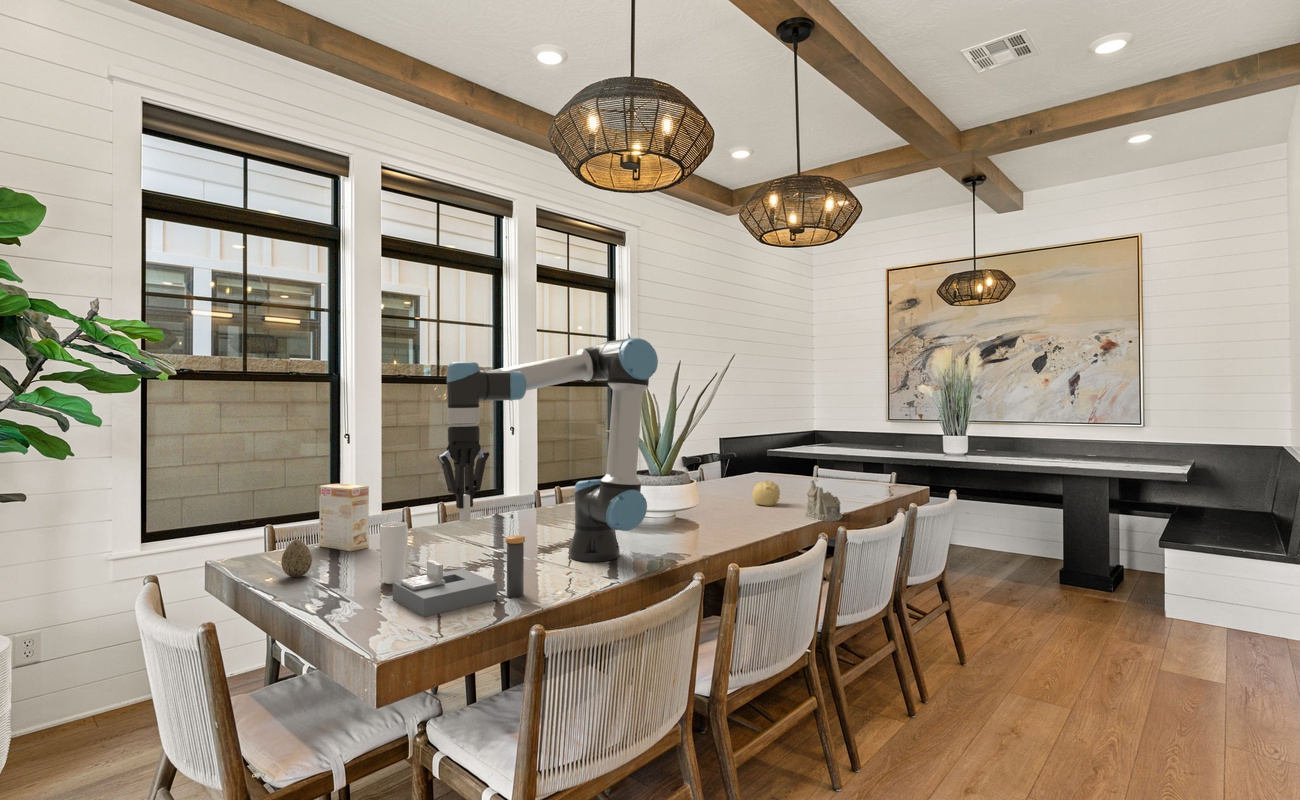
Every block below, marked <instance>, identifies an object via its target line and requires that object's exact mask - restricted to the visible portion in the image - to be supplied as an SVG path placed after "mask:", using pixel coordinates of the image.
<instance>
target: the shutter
mask: <svg viewBox="0 0 1300 800" xmlns="http://www.w3.org/2000/svg"><path fill="white" fill-rule="evenodd" d="M443 572H444V564H443V563H440V562H438V561H435V560H433V559H429V560H426V574H423V575H420V576H419V575H418V576H415V577H414V576H413V577H409V578H405V579H403V580H400V583H401V584H403V585H405V586H407V587H408V588H410V589H412V590H418V589H423V588H428V587H432V586H437V585H442V584H445V580H443Z"/></svg>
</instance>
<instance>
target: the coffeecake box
mask: <svg viewBox="0 0 1300 800" xmlns="http://www.w3.org/2000/svg"><path fill="white" fill-rule="evenodd" d="M369 487H370V486H369V485H358V484H357V485H356V484H347V483H330V484H324V485H319V490H318V491H319V493H318V494H319V500H318V502H319V503H318V505H319V507H318V508H319V513H318V514H319V517H318V518H319V547H320V546H321V548H328V549H334V550H340V551H347V552H354V551H358V550H363V549H367V548H370V546H369V545H370V544H369V543H370V541H369V540H370V536H369V534H370V533H369V532H370V531H369V530H370V527H369V525H370V521H369V519H370V517H369V514H370V513H369V511H370V508H369V506H370V505H369V502H370V501H369V500H370V499H369V498H370V497H369V496H370V495H369V494H370V493H369V491H370V489H369Z"/></svg>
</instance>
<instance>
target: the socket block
mask: <svg viewBox="0 0 1300 800" xmlns="http://www.w3.org/2000/svg"><path fill="white" fill-rule="evenodd" d="M443 580H445V584H442V585H437V586H432V587H428V588H423V589H418V590H412V589H410V588H408V587H407V586H405V585H403V584H401V583H400V581H397V582H393V584H392V600H393V601H395V602H397V603H398V604H400V605H401V606H404V607H406V608H408V609H410V610H411V611H413V612H414V613H416V614H418V615H420V616H421V617H423V618H424V617H430V616H435V615H438V614H442V613H446V612H451V611H455V610H459V609H462V608H467V607H470V606H476V605H479V604H482V603H483V604H484V603H488V602H491V601H495V600H498V582H497V581H494V580H492V579H489V578H487V577H484V576H482V575H479V574H477V573H474V572H472V571H470V570H467V569H465V568H458V569H453V570H447V571H443Z"/></svg>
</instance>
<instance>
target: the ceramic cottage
mask: <svg viewBox="0 0 1300 800" xmlns="http://www.w3.org/2000/svg"><path fill="white" fill-rule="evenodd" d="M806 494H807V495H806V496H807V503H806V508H807V509H806V512H805V517H806V516H807V517H811V518H814V519H818V520H824V521H827V522H826V523H828V522H838V521H840V520H841V519H842V518H843V517H844V515H843V514H842V512H841V501H840V499H839V498H838V496H834V495H833V494H832V493H831V492H830V491H826V492H824V489H823V487H819V486H817V485H816V483H815V480H813V479H812V480H810V487H809V490H808V491H807V493H806ZM807 517H806V518H807Z"/></svg>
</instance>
